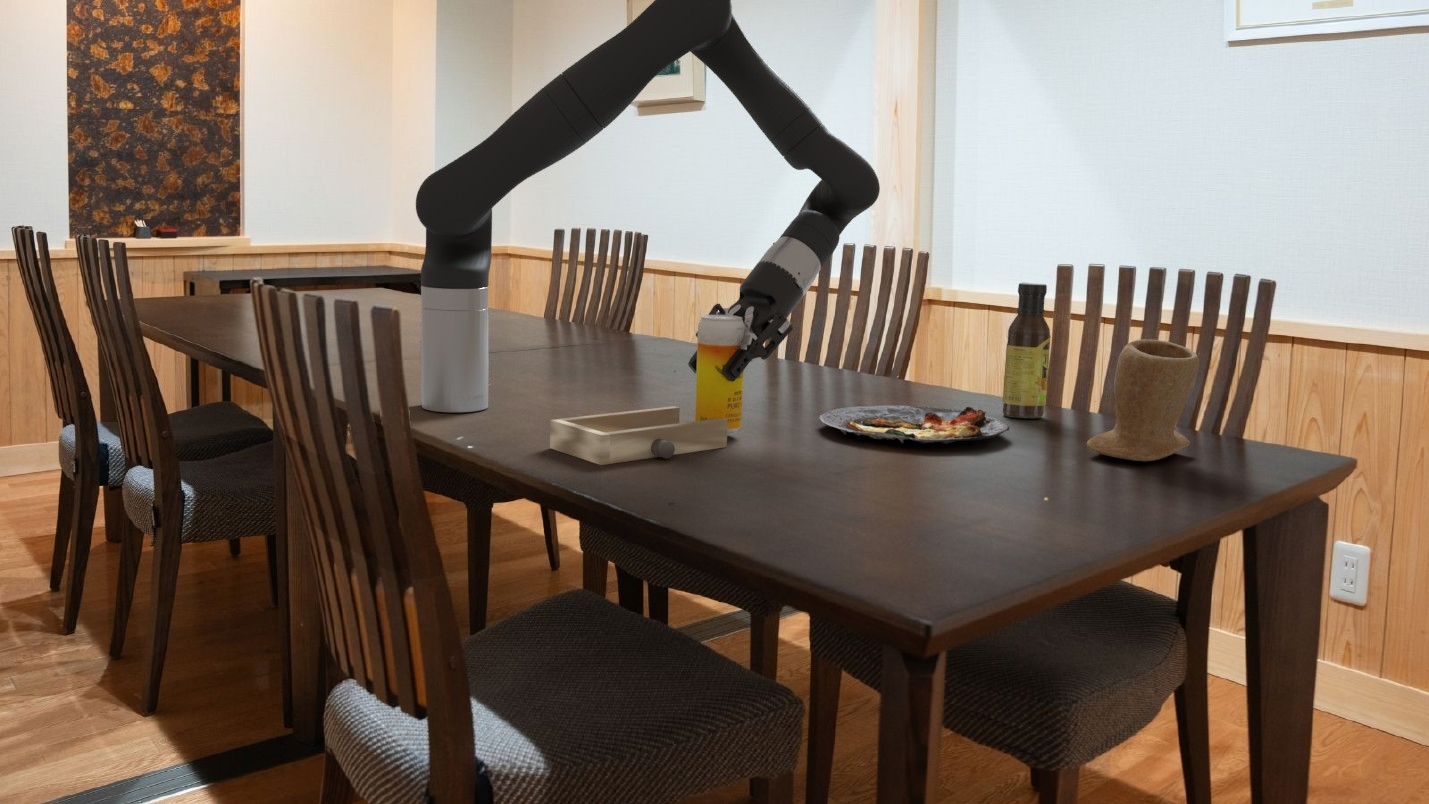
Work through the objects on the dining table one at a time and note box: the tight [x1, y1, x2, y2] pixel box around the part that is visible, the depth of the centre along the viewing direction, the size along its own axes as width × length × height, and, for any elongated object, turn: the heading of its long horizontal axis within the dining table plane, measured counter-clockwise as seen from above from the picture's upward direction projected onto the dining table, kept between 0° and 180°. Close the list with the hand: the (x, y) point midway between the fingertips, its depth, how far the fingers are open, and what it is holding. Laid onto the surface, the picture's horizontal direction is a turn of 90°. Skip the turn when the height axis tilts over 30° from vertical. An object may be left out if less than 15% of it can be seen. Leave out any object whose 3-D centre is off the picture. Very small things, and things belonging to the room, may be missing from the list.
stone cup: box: [1086, 339, 1200, 462], centre depth 154 cm, size 15×12×15 cm
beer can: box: [694, 314, 745, 436], centre depth 157 cm, size 6×6×15 cm
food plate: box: [819, 404, 1010, 445], centre depth 165 cm, size 25×23×4 cm
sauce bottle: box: [1002, 281, 1052, 419], centre depth 179 cm, size 6×6×20 cm
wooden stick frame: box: [549, 405, 728, 466], centre depth 149 cm, size 15×19×4 cm
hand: (710, 373), depth 155 cm, fingers closed on beer can, 6 cm apart
